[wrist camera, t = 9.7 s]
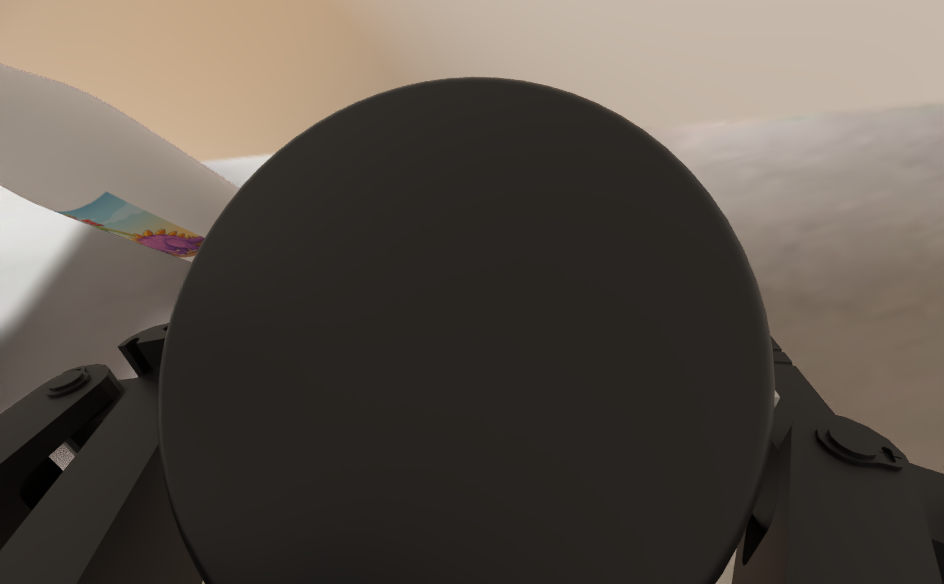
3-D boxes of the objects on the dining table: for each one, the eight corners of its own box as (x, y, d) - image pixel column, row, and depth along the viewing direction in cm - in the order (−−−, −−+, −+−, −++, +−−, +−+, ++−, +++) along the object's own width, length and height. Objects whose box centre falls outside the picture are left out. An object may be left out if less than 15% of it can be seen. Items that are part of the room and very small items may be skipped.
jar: (653, 420, 14) (1058, 528, 3) (477, 521, 15) (252, 971, 3) (533, 245, 17) (515, -33, 6) (388, 333, 18) (101, 225, 6)
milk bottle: (220, 180, 35) (-161, -69, 16) (276, 209, 33) (-87, -39, 14) (173, 247, 34) (-297, 67, 15) (227, 282, 32) (-240, 123, 13)
